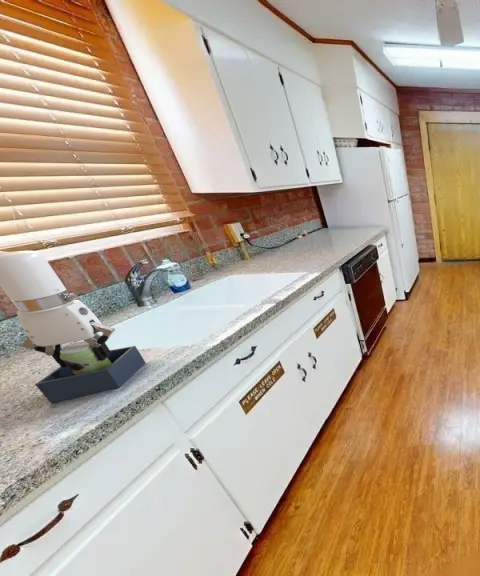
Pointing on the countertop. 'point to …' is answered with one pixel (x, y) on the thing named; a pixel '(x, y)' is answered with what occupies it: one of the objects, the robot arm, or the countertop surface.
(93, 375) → the bin
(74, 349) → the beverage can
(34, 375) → the countertop surface
